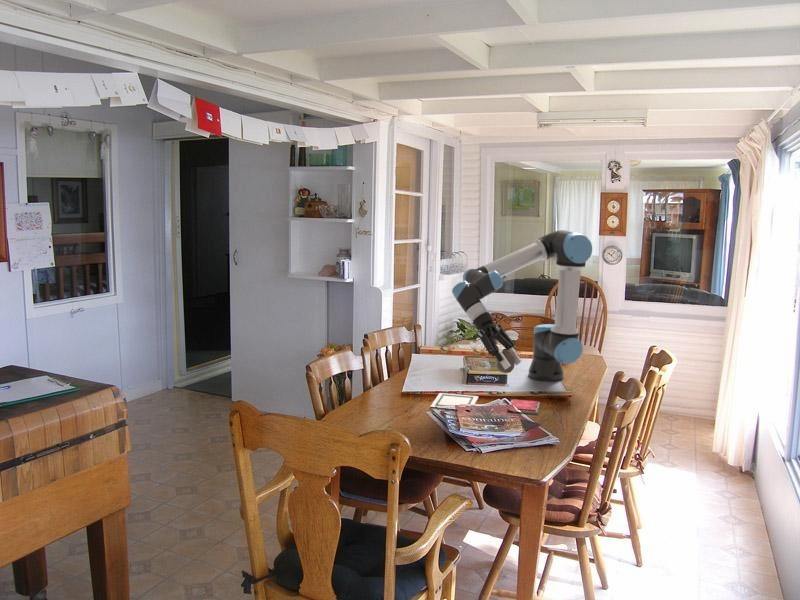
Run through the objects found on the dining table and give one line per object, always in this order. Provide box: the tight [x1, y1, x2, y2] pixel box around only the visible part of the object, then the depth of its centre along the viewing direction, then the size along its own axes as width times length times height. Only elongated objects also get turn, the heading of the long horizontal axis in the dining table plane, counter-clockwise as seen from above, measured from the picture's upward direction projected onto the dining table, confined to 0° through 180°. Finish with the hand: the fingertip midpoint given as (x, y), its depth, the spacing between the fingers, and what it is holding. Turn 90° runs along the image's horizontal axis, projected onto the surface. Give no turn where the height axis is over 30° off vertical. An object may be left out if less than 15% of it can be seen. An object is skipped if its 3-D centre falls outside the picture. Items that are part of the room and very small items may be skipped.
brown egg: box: [496, 348, 516, 374], centre depth 261 cm, size 7×7×9 cm
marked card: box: [429, 392, 479, 408], centre depth 270 cm, size 16×16×1 cm
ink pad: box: [510, 398, 541, 415], centre depth 264 cm, size 11×11×1 cm
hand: (513, 365), depth 259 cm, fingers closed on brown egg, 7 cm apart
